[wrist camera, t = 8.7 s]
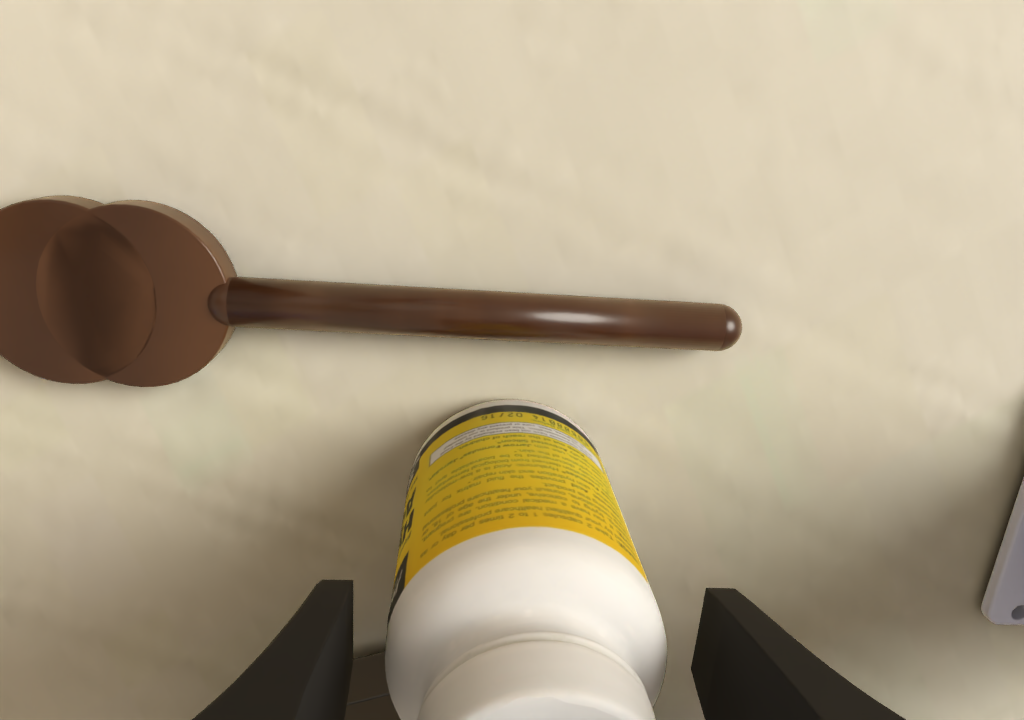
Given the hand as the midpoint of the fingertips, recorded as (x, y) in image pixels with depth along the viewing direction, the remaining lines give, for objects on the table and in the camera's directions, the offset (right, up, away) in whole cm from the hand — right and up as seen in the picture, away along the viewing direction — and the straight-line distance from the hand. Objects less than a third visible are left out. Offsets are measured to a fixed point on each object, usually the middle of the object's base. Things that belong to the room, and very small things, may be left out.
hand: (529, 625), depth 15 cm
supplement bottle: (0, +2, +6) cm, 6 cm away
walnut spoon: (-4, +7, +4) cm, 9 cm away
